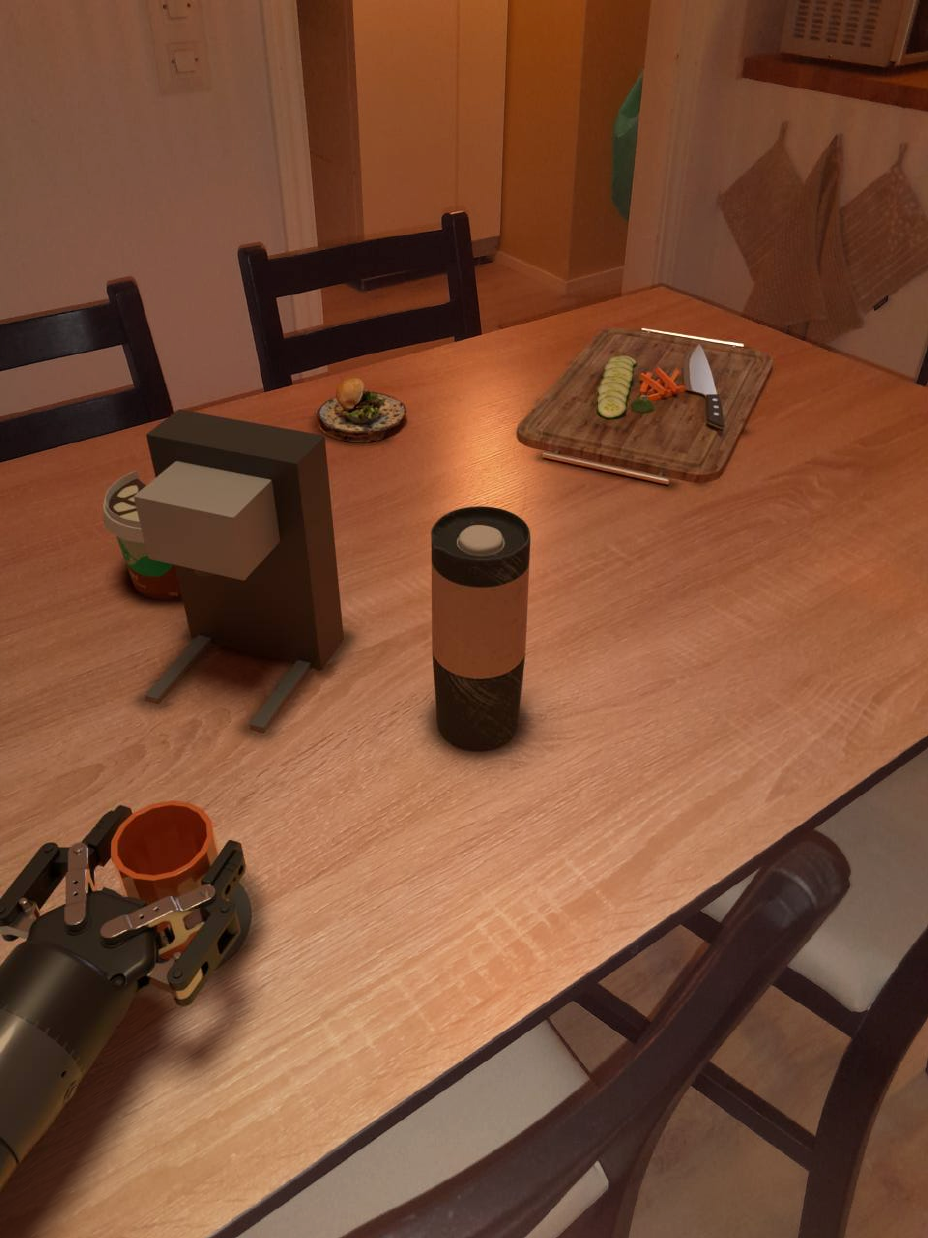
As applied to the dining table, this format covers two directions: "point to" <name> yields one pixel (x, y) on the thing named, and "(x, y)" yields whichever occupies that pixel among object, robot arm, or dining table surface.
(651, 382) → the chopping board
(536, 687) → the dining table surface
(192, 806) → the cup
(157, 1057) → the dining table surface
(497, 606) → the travel mug
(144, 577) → the food container
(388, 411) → the plate of food
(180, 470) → the coffee maker
